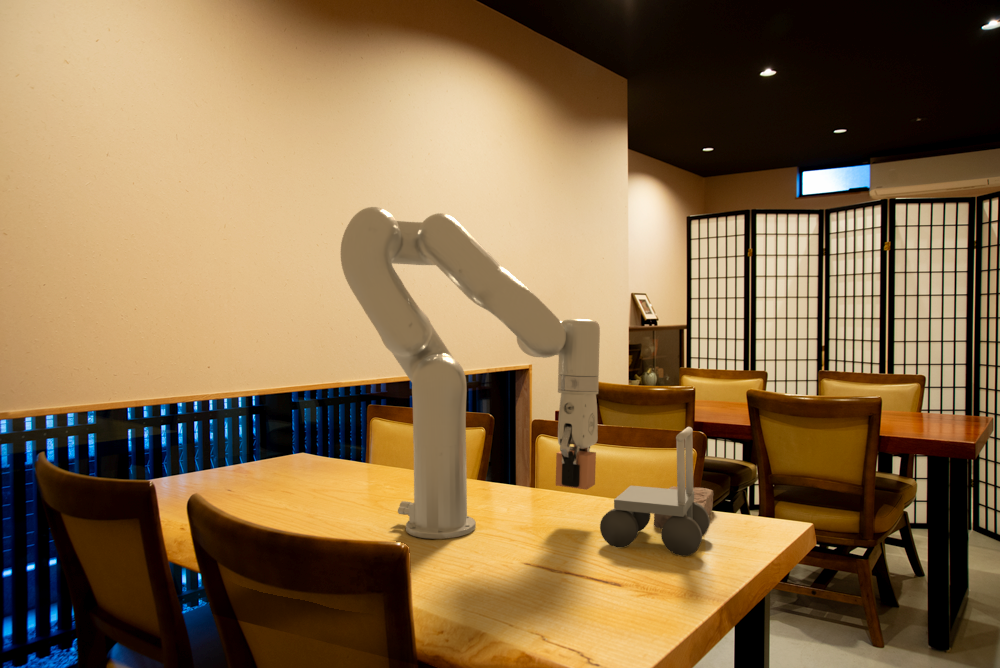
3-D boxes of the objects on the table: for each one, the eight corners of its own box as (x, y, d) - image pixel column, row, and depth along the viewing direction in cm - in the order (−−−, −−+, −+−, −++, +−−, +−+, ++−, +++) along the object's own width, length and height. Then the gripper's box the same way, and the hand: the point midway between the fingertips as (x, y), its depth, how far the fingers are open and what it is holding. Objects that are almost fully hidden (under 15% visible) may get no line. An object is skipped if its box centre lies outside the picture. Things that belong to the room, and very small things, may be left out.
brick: (700, 535, 110) (699, 508, 110) (651, 529, 114) (651, 502, 114) (714, 512, 125) (713, 488, 125) (671, 507, 128) (670, 484, 128)
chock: (555, 485, 116) (556, 452, 116) (564, 480, 121) (565, 449, 121) (586, 489, 114) (587, 456, 114) (595, 484, 118) (595, 452, 118)
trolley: (599, 545, 104) (598, 430, 104) (617, 527, 114) (615, 422, 114) (700, 559, 97) (698, 436, 97) (710, 538, 107) (708, 427, 107)
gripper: (583, 388, 108) (580, 494, 108) (610, 384, 124) (607, 477, 123) (542, 386, 111) (539, 489, 111) (573, 382, 127) (571, 473, 126)
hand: (575, 482), depth 117 cm, fingers closed on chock, 5 cm apart
